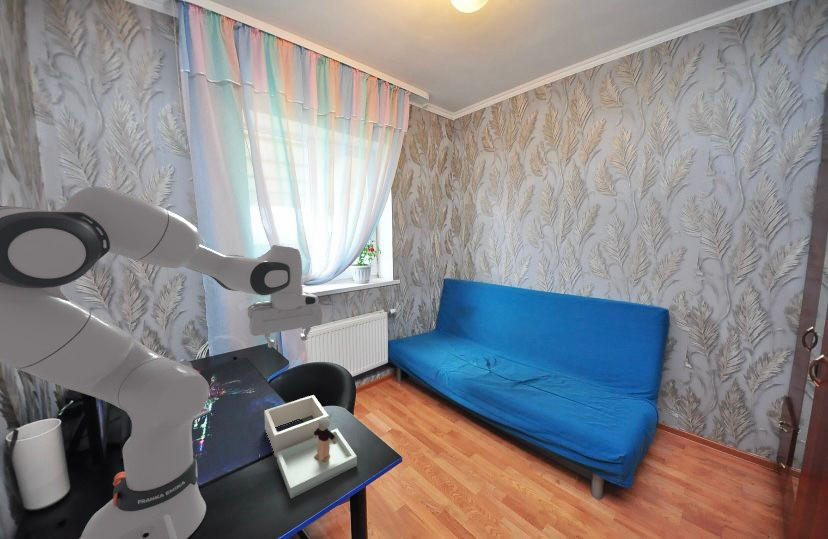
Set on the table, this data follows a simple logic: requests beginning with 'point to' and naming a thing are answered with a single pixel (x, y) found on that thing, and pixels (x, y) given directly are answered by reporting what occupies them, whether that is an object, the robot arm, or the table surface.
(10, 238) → the robot arm
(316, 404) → the ceramic holder
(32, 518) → the table surface
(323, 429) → the grandmother figurine
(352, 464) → the sage tray
